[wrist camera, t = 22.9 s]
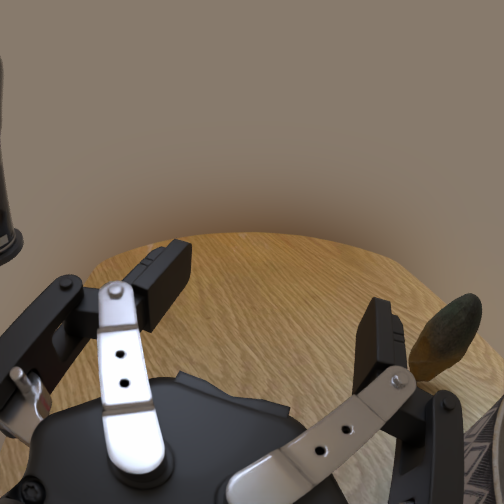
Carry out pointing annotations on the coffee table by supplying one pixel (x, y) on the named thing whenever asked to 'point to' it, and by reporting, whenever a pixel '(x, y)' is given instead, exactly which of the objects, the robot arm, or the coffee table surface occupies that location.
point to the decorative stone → (445, 338)
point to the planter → (485, 458)
